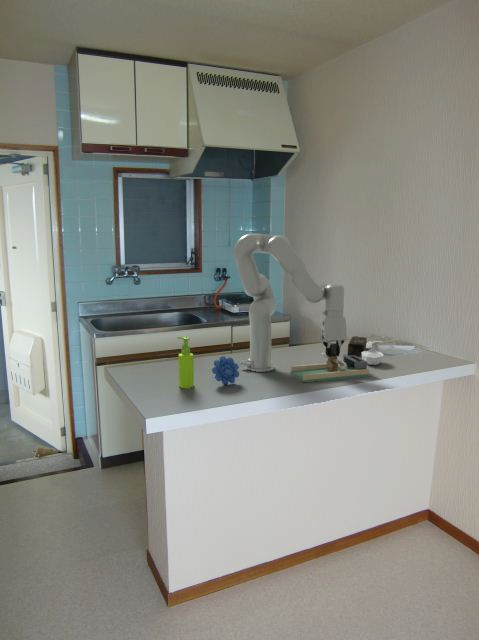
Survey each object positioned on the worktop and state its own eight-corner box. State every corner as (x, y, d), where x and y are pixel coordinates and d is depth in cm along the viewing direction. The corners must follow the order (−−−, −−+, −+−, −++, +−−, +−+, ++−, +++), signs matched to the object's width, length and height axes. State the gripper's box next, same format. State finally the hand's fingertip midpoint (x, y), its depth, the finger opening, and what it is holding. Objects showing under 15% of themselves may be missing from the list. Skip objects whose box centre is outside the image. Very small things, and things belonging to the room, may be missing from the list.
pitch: (303, 382, 208) (303, 375, 208) (290, 373, 222) (290, 366, 221) (368, 376, 217) (368, 369, 216) (352, 367, 230) (352, 360, 230)
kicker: (339, 377, 210) (340, 349, 208) (318, 365, 228) (319, 339, 226) (346, 377, 211) (347, 349, 208) (325, 364, 229) (326, 338, 227)
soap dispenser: (184, 382, 209) (183, 334, 205) (196, 385, 205) (196, 337, 201) (174, 385, 205) (173, 337, 201) (186, 389, 200) (185, 339, 196)
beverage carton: (366, 348, 266) (367, 336, 265) (363, 357, 249) (364, 344, 247) (351, 347, 269) (351, 335, 268) (346, 356, 251) (347, 343, 250)
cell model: (359, 366, 232) (360, 352, 231) (362, 359, 244) (362, 346, 242) (382, 368, 229) (383, 354, 228) (384, 361, 240) (384, 347, 239)
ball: (350, 366, 219) (344, 374, 219) (346, 364, 223) (340, 371, 223) (344, 361, 218) (338, 368, 218) (340, 359, 222) (334, 366, 222)
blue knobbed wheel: (215, 389, 200) (215, 360, 198) (210, 384, 206) (209, 355, 204) (243, 386, 204) (243, 357, 202) (237, 381, 211) (237, 353, 208)
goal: (355, 374, 217) (355, 360, 216) (342, 367, 227) (343, 354, 226) (366, 372, 218) (367, 359, 217) (353, 366, 229) (354, 353, 227)
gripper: (320, 316, 209) (318, 359, 212) (356, 314, 213) (354, 356, 217) (312, 313, 216) (311, 355, 219) (347, 311, 220) (345, 352, 224)
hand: (332, 355), depth 218 cm, fingers closed on kicker, 3 cm apart
